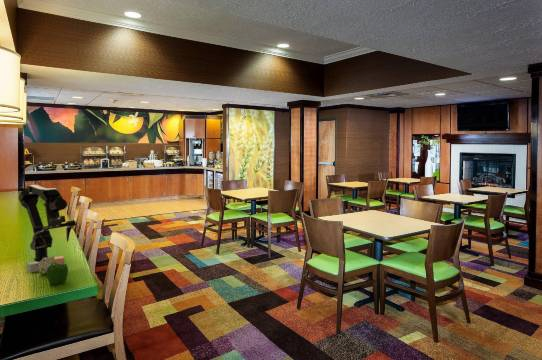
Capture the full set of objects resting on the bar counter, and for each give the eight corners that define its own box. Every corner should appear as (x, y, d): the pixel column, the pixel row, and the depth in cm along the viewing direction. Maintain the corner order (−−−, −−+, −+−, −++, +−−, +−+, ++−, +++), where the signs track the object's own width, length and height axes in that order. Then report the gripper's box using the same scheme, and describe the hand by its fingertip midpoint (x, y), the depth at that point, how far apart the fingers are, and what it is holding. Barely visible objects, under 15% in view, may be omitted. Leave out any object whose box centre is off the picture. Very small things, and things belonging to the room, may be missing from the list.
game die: (52, 279, 184) (66, 261, 186) (42, 279, 175) (57, 260, 178) (37, 269, 185) (51, 252, 187) (27, 268, 176) (42, 250, 179)
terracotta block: (51, 264, 195) (51, 257, 195) (62, 263, 198) (62, 255, 198) (53, 267, 191) (52, 259, 191) (64, 265, 194) (64, 257, 194)
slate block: (27, 271, 185) (27, 262, 184) (36, 269, 188) (36, 261, 188) (30, 272, 182) (30, 264, 182) (39, 270, 185) (39, 262, 185)
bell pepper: (63, 278, 175) (62, 257, 174) (71, 282, 170) (70, 260, 169) (43, 283, 169) (42, 261, 168) (50, 287, 163) (50, 265, 162)
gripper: (31, 214, 181) (36, 247, 180) (75, 208, 192) (80, 238, 191) (30, 216, 190) (35, 247, 189) (72, 210, 201) (76, 239, 200)
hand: (57, 243), depth 192 cm, fingers open, 9 cm apart
